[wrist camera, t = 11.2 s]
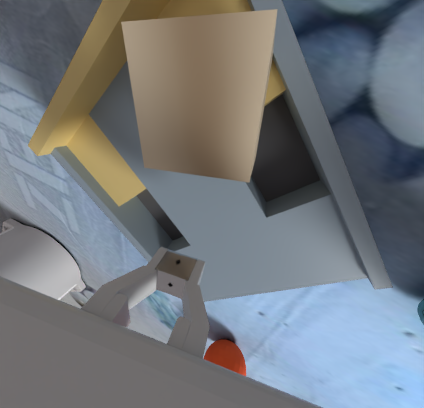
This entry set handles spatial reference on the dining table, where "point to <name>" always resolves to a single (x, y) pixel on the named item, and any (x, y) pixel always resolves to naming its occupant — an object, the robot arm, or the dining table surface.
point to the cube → (201, 90)
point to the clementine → (226, 356)
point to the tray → (209, 186)
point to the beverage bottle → (421, 310)
